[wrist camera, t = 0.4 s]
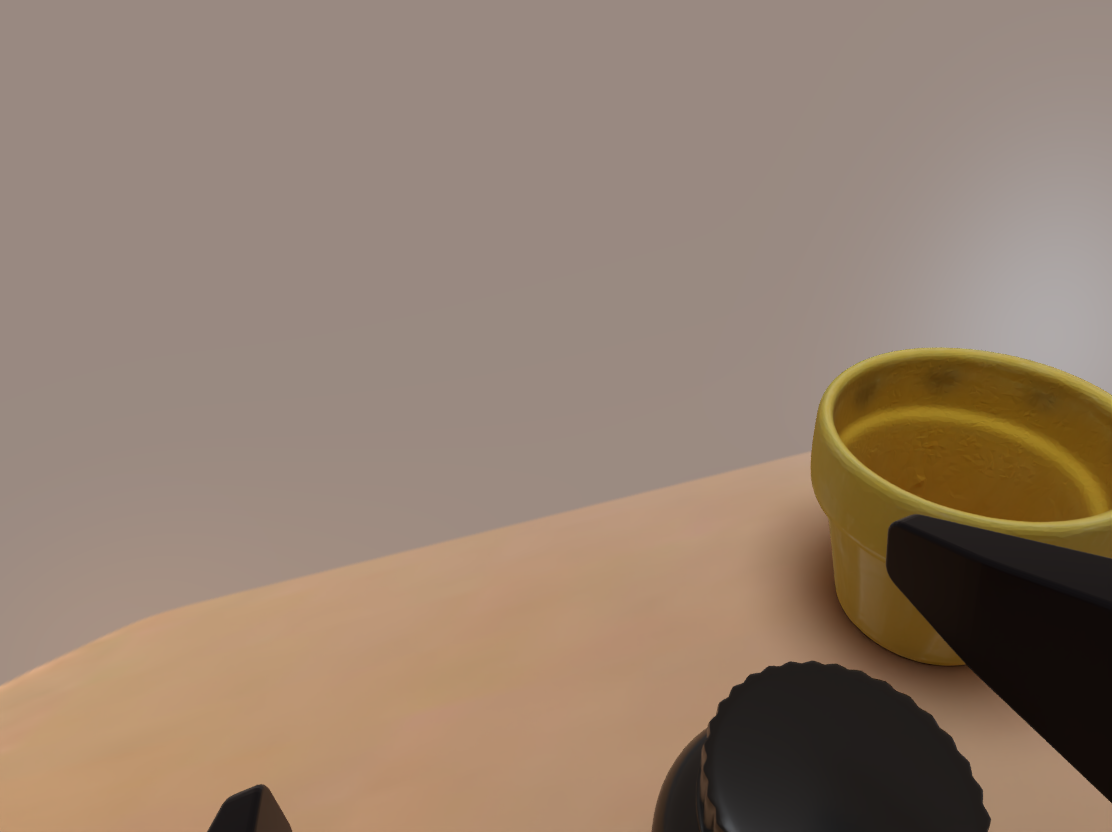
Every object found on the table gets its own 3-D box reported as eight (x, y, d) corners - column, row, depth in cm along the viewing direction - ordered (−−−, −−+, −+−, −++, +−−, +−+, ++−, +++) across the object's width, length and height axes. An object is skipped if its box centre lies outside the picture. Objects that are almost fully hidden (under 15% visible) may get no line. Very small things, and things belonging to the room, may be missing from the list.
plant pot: (1116, 735, 23) (1258, 539, 17) (803, 696, 25) (837, 513, 19) (1013, 524, 31) (1086, 344, 25) (785, 510, 33) (805, 344, 28)
